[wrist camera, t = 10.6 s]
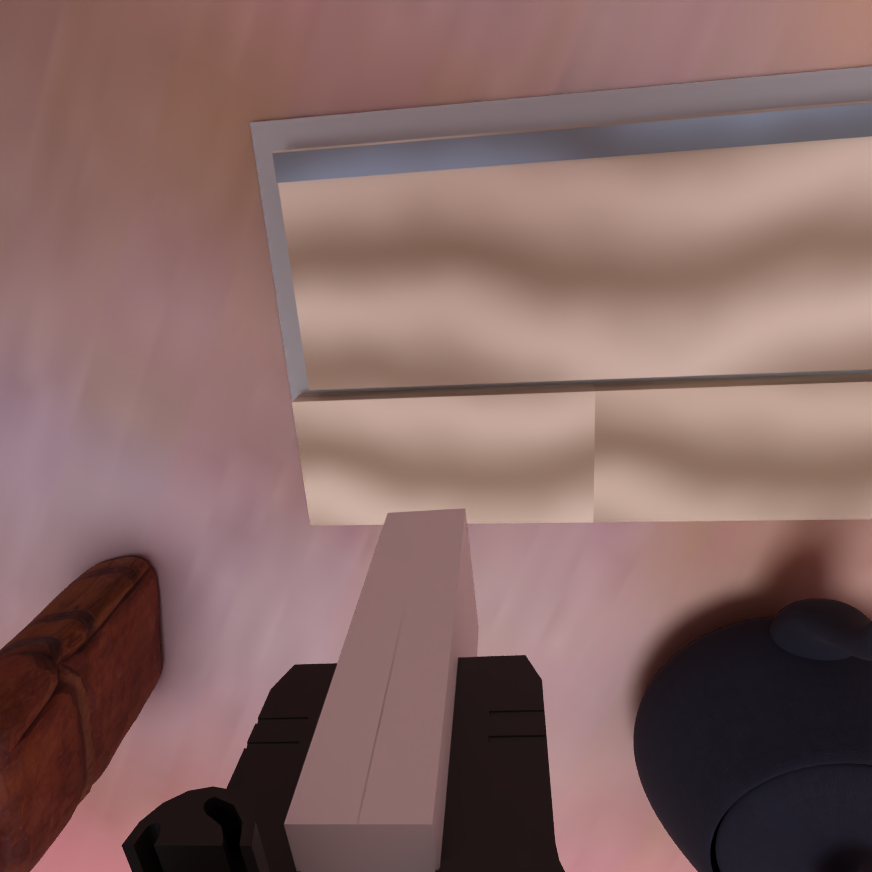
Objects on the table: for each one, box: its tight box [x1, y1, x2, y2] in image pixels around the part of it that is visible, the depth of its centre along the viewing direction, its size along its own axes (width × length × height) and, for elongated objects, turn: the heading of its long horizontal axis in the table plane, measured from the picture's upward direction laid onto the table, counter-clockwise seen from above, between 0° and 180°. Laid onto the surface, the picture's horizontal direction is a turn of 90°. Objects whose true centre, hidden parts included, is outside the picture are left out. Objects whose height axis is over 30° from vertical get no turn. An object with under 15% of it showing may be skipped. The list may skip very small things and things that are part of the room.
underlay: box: [250, 66, 872, 401], centre depth 32 cm, size 20×31×1 cm, turn 94°
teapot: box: [634, 599, 872, 872], centre depth 33 cm, size 25×16×12 cm, turn 2°
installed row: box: [292, 373, 872, 525], centre depth 33 cm, size 7×30×1 cm, turn 94°
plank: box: [272, 101, 872, 390], centre depth 30 cm, size 11×28×2 cm, turn 94°
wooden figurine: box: [0, 556, 161, 872], centre depth 34 cm, size 12×6×18 cm, turn 173°
